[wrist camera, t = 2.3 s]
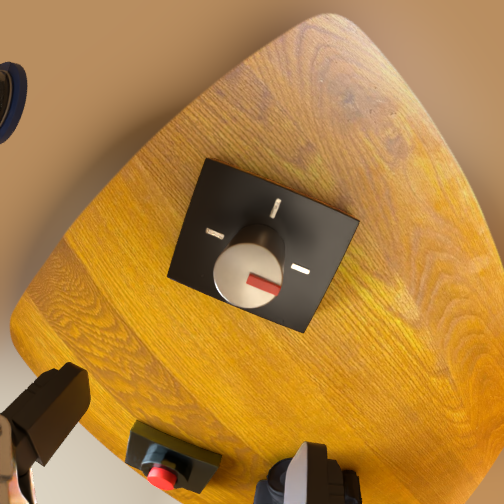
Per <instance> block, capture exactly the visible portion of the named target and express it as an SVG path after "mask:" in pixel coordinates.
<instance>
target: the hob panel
mask: <svg viewBox="0 0 504 504" xmlns="http://www.w3.org/2000/svg"><path fill="white" fill-rule="evenodd" d="M359 222H360V221H359V220H358V219H357V218H356V217H354V216H353V215H351V214H349V213H347V212H345V211H343V210H340V209H338V208H336V207H334V206H332V205H329V204H327V203H325V202H323V201H320V200H318V199H316V198H313V197H311V196H309V195H306V194H304V193H302V192H299V191H297V190H295V189H292V188H290V187H287V186H285V185H283V184H280V183H278V182H275V181H273V180H270V179H268V178H265V177H263V176H260V175H258V174H255V173H253V172H250V171H247V170H245V169H242V168H240V167H237V166H234V165H232V164H229V163H226V162H224V161H221V160H218V159H215V158H206V159H205V162H204V165H203V167H202V170H201V173H200V176H199V178H198V181H197V184H196V187H195V190H194V193H193V196H192V198H191V201H190V204H189V207H188V210H187V213H186V216H185V219H184V222H183V225H182V229H181V232H180V235H179V238H178V241H177V244H176V247H175V251H174V254H173V257H172V261H171V264H170V267H169V271H168V274H167V277H168V278H170V279H172V280H174V281H177V282H179V283H181V284H183V285H186V286H188V287H190V288H192V289H195V290H197V291H199V292H202V293H204V294H206V295H209V296H211V297H213V298H216V299H218V300H220V301H223V302H225V303H228V304H230V305H232V306H235V305H233V304H231V303H230V302H228V301H227V300H226V299H225V298H224V297H223V296H222V295H221V294H220V293H219V291H218V289H217V287H216V285H215V282H214V276H213V271H214V266H215V263H216V260H217V258H218V257H219V255H220V254H221V253H222V251H223V250H224V249H225V248H226V246H227V245H228V244H229V243H230V241H231V240H232V239H233V238H234V236H235V235H236V234H237V233H238V232H239V231H240V230H241V229H243V228H244V227H246V226H249V225H255V224H259V225H265V226H268V227H270V228H272V229H273V230H275V231H276V232H277V233H278V234H279V235H280V237H281V238H282V240H283V243H284V246H285V260H284V272H283V282H282V286H281V289H280V292H279V294H278V296H276V297H275V298H274V299H273V300H272V301H271V302H269V303H268V304H266V305H264V306H261V307H258V308H242V307H238V306H235V307H237V308H240V309H242V310H245V311H247V312H250V313H252V314H255V315H257V316H260V317H262V318H265V319H267V320H270V321H272V322H275V323H277V324H280V325H282V326H285V327H288V328H290V329H293V330H296V331H298V332H301V333H304V332H305V330H306V328H307V327H308V325H309V323H310V321H311V319H312V317H313V315H314V314H315V312H316V310H317V308H318V306H319V304H320V302H321V300H322V298H323V297H324V295H325V293H326V291H327V289H328V287H329V285H330V283H331V281H332V279H333V277H334V275H335V273H336V271H337V269H338V267H339V265H340V263H341V261H342V259H343V257H344V255H345V252H346V250H347V248H348V246H349V244H350V242H351V240H352V238H353V235H354V233H355V231H356V229H357V227H358V225H359Z"/></svg>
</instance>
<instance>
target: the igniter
mask: <svg viewBox="0 0 504 504" xmlns="http://www.w3.org/2000/svg"><path fill="white" fill-rule="evenodd" d="M221 458H222V455H220V454H217V453H214V452H211V451H208V450H206V449H203V448H200V447H198V446H195V445H192V444H190V443H187V442H185V441H182V440H180V439H177V438H175V437H173V436H170V435H168V434H166V433H163V432H161V431H159V430H157V429H155V428H152V427H150V426H148V425H146V424H144V423H142V422H140V421H138V420H136V422H135V424H134V425H133V427H132V429H131V431H130V436H129V441H128V447H127V453H126V459H125V463H126V464H128V465H130V466H132V467H134V468H137V469H139V470H141V471H142V472H143V473H144V475H145V476H146V477H148V476H149V473H150V471H151V469H152V468H153V467H156V468H162V469H164V470H167V471H169V472H171V473H172V474H174V475H175V476H176V477H177V480H176V483H175V485H174V488H176V489H177V488H184V489H187V490H190V491H193V492H196V493H199V494H200V493H201V492H202V490H203V489H204V488H205V486H206V485H207V483H208V482H209V481H210V479H211V478H212V477H213V475H214V474H215V472H216V471H217V470H218V468H219V466H220V462H221Z"/></svg>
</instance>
